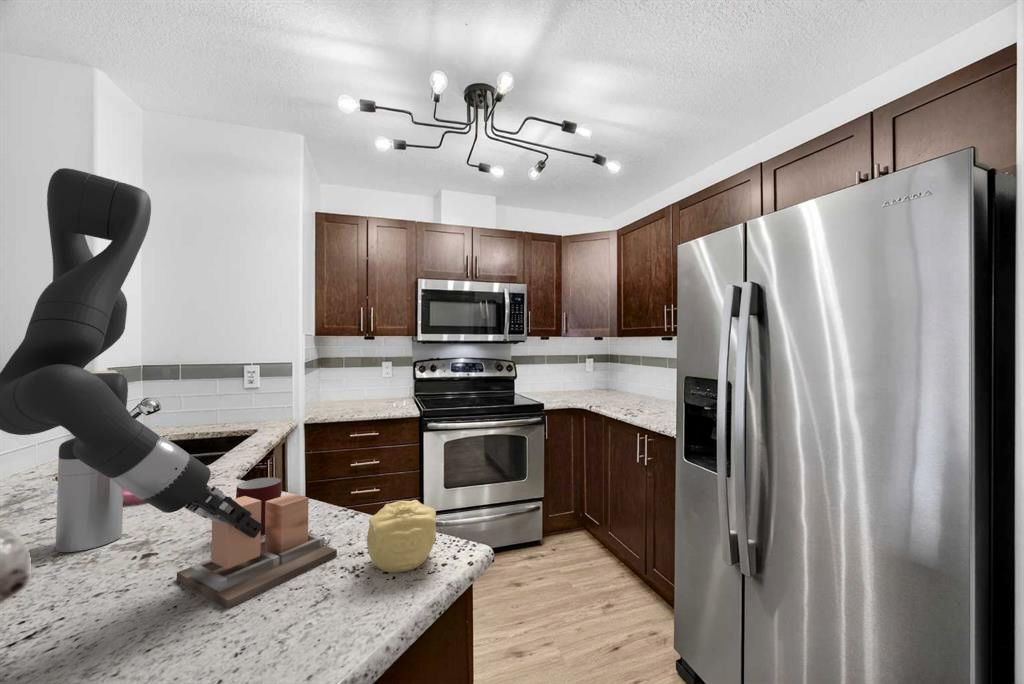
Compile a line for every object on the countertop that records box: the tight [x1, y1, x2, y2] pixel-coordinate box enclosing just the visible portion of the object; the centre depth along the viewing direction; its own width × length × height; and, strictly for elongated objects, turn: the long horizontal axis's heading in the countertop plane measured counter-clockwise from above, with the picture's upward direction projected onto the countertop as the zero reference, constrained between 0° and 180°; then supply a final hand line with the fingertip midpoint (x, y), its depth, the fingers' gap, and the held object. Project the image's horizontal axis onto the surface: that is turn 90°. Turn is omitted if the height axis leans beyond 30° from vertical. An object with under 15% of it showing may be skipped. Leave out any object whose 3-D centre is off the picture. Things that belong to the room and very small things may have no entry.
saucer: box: [123, 489, 147, 505], centre depth 109 cm, size 12×12×3 cm
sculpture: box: [366, 499, 437, 573], centre depth 73 cm, size 12×12×11 cm
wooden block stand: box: [176, 493, 338, 610], centre depth 71 cm, size 16×18×10 cm
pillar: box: [210, 496, 262, 569], centre depth 68 cm, size 5×5×9 cm
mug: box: [235, 477, 283, 535], centre depth 85 cm, size 11×8×10 cm
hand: (248, 528), depth 70 cm, fingers closed on pillar, 5 cm apart
